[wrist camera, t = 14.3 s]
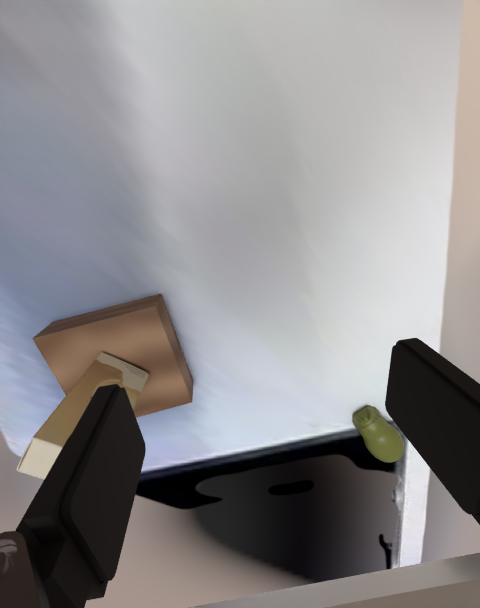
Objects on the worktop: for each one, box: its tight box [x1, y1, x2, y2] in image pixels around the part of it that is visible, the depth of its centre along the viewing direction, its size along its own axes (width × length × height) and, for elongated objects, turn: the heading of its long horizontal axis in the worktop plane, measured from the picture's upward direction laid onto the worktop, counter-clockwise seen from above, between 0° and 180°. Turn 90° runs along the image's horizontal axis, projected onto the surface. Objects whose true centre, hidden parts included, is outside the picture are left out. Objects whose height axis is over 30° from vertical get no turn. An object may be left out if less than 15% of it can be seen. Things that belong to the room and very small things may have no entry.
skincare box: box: [17, 352, 149, 480], centre depth 27 cm, size 6×4×12 cm
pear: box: [353, 406, 404, 462], centre depth 45 cm, size 6×5×10 cm
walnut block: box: [32, 294, 193, 417], centre depth 36 cm, size 14×14×5 cm
